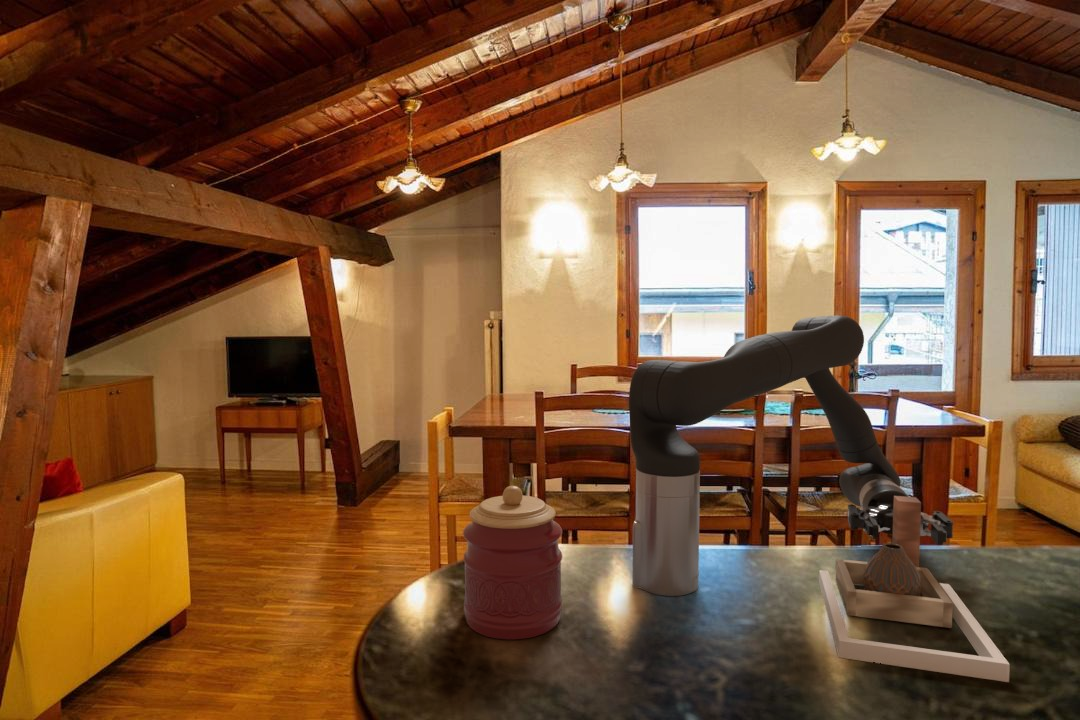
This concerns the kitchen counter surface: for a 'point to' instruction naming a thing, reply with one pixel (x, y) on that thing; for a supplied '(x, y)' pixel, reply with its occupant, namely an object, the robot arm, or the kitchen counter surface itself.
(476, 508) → the canister
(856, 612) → the square wooden tray
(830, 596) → the rail lane
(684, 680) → the kitchen counter surface
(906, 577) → the vase
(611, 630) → the kitchen counter surface
